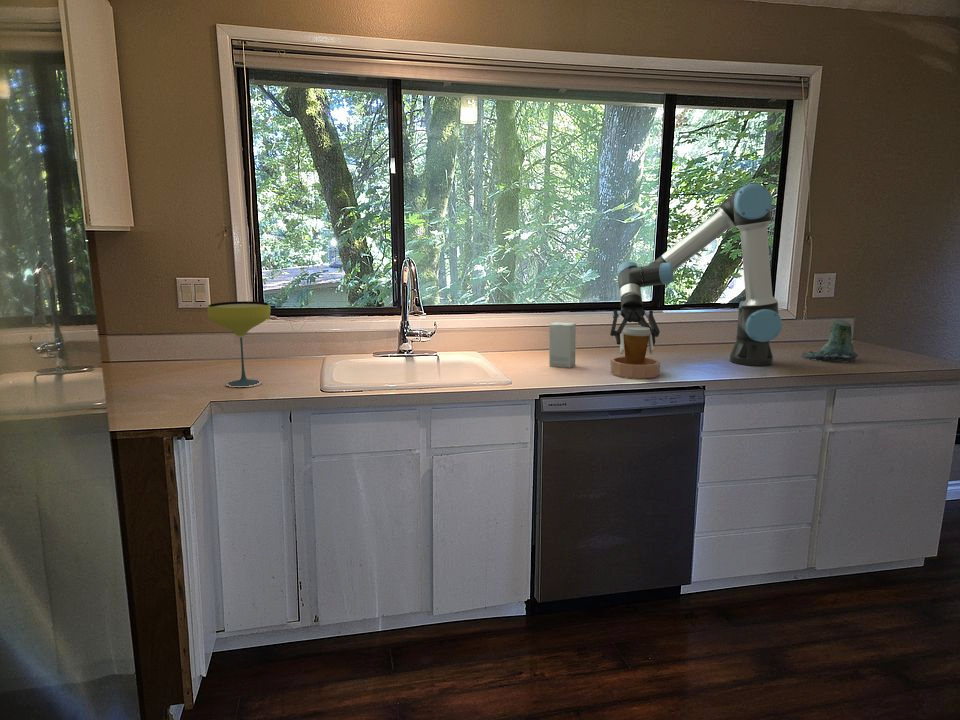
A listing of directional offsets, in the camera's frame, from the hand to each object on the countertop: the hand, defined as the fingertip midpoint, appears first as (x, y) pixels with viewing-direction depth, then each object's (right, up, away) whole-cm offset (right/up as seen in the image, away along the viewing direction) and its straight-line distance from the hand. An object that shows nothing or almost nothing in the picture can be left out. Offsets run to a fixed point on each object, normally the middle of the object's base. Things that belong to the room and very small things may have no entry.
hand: (637, 351), depth 225 cm
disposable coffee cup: (0, -4, +4) cm, 6 cm away
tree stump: (+84, -3, +35) cm, 91 cm away
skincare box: (-23, -5, +16) cm, 29 cm away
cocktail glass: (-127, -11, -16) cm, 128 cm away
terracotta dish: (0, -7, +5) cm, 9 cm away
